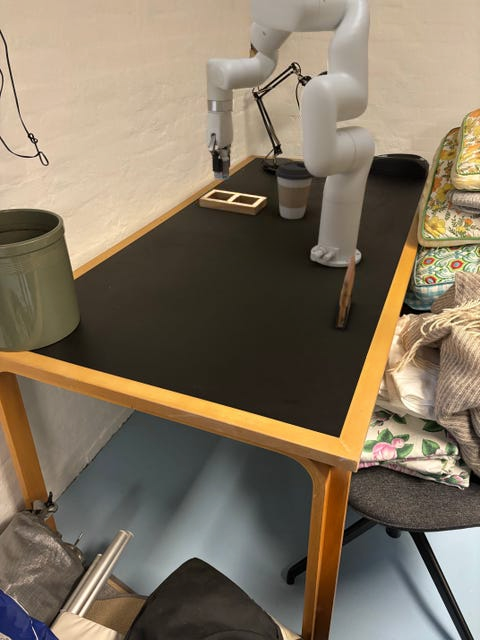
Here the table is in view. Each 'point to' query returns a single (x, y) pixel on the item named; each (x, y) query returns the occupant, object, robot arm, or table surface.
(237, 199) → the holder
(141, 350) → the table surface
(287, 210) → the coffee cup
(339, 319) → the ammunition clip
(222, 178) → the pill bottle
